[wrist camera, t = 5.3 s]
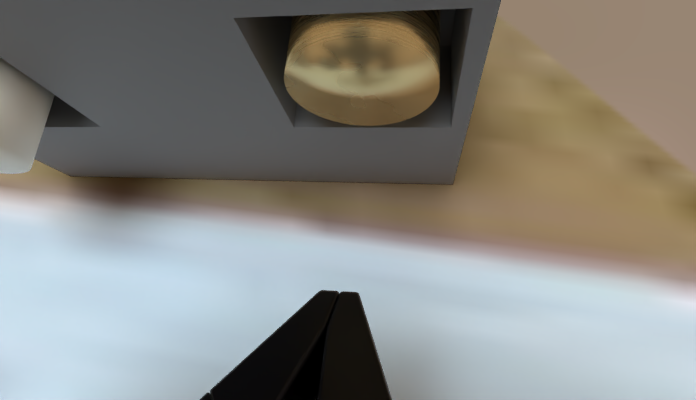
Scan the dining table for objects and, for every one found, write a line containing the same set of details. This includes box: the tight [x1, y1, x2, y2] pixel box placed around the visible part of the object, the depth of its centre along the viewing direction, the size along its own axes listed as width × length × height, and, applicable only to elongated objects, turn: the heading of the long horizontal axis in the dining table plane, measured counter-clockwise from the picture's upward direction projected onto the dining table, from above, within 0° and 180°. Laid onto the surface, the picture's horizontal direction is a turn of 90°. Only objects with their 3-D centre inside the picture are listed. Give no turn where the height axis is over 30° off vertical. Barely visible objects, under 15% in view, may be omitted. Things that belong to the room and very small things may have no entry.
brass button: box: [284, 10, 440, 126], centre depth 12 cm, size 3×4×4 cm
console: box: [0, 0, 501, 184], centre depth 15 cm, size 6×18×12 cm, turn 85°
